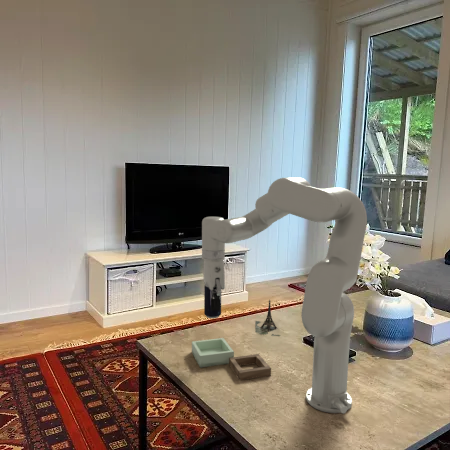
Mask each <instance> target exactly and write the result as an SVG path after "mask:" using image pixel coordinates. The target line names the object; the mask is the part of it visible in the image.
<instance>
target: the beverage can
mask: <svg viewBox="0 0 450 450" xmlns="http://www.w3.org/2000/svg"><path fill="white" fill-rule="evenodd" d="M213 289H216V287H215V288H213ZM203 290H204V291H203V293H204V298H203V299H204V301H203V303H204V305H203V307H204V311H203V314H204V316H205V317H206V318H207V319H213V320H215V319H218V318H219V317H220V316H222V303H221V304H220V310H214V311H212V310H211V299H212V294H211V290H210V289H209V287H208V284H207V283H206V284H204V289H203ZM215 292H216V291H214V294H215Z"/></svg>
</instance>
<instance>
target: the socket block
mask: <svg viewBox="0 0 450 450" xmlns="http://www.w3.org/2000/svg"><path fill="white" fill-rule="evenodd" d="M253 364H256V365H257V367H254V368H248V369H243V368H242V367H241V366H247V365H253ZM228 366H229V367H230V368H231V370H232V371H233V373H234V374H235V376H236V377H237V379H238V380H239V381H245V380H251V379H257V378H258V379H259V378H265V377H271V376H272V368H271V366H270V365H269V363H267V362H266V361H265V360H264V358H263V357H262V356H261V355H260V354H259V353H256V354H250V355H249V354H248V355H242V356H234V357H232V358H229V364H228Z"/></svg>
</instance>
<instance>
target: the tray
mask: <svg viewBox="0 0 450 450" xmlns="http://www.w3.org/2000/svg"><path fill="white" fill-rule="evenodd" d="M191 354H192V356H193V357H194V359H195V361H196V363H197V364H198V366H199V368H207V367H214V366H222V365H229V358H232V357H235V351H234V350H233V348H232V346H230V345H229V343H228V342H227V340H226V339H225V338H224V337H219V338H213V339H203V340H194V341H193V340H192V341H191Z"/></svg>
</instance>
